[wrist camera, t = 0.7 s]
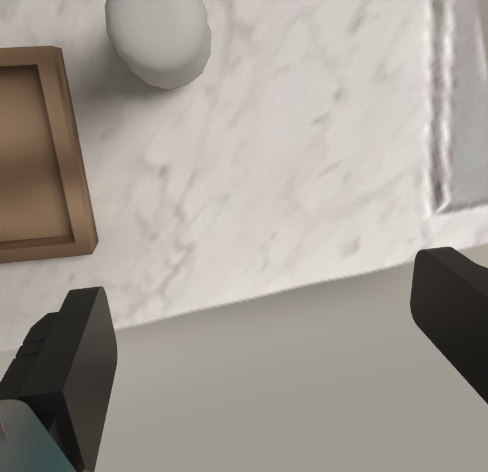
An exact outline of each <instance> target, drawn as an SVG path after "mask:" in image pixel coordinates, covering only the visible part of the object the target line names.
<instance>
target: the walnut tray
mask: <svg viewBox="0 0 488 472" xmlns="http://www.w3.org/2000/svg"><path fill="white" fill-rule="evenodd" d="M97 244H98V237H97V232H96V227H95V221H94V216H93V211H92V206H91V200H90V195H89V190H88V185H87V180H86V174H85V169H84V164H83V159H82V153H81V148H80V143H79V138H78V132H77V127H76V122H75V117H74V112H73V106H72V101H71V96H70V91H69V85H68V80H67V75H66V70H65V65H64V59H63V54H62V49H61V48H58V47H53V46H36V47H15V48H0V263H10V262H20V261H30V260H40V259H50V258H60V257H70V256H80V255H90V254H93V252H94V250H95V248H96V246H97Z"/></svg>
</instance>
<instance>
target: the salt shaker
mask: <svg viewBox="0 0 488 472" xmlns="http://www.w3.org/2000/svg"><path fill="white" fill-rule="evenodd" d="M105 14H106V26H107V33H108V35H109V37H110V39H111V41H112V43H113V45H114V47H115V49H116V51H117V53H118V55H119V56H120V57H121V58H123V59H124V60H125V61H126V63H127V64H128V66H129V68H130V70H131V71H132V72H133V73H134V74H136V75H137V76H138V77H139V78H140V79H142V80H143V81H144V82H145V83H147V84H149V85H153V86H156V87H160V88H163V89H167V90H168V89H172V88H177V87H181V86H186V85H187V84H189V83H190V82H191V81H193V80H194V79H195V78H196V77H198V76H199V75H200V74H202V72H203V70H204V68H205V65H206V63H207V61H208V58H209V56H210V54H211V30H210V28H209V26H208V23H207V11H206V9H205V6H204V4H203V2H202V0H107V1H106V4H105Z"/></svg>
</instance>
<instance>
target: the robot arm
mask: <svg viewBox="0 0 488 472" xmlns="http://www.w3.org/2000/svg"><path fill="white" fill-rule="evenodd" d="M410 308H411V313H412V317H413V319H414V321H415V323H416V324H417V326H418V327H419V328H420V329H421V330H422V331H423V332H424V334H425V335H426V336H427V337H428V338H429V339H430V340H431V341H432V343H433V344H434V345H435V346H436V347H437V348H438V349H439V350H440V351H441V352H442V354H443V355H444V356H445V357H446V358H447V359H448V360H449V361H450V362H451V364H452V365H453V366H454V367H455V368H456V369H457V370H458V371H459V373H460V374H461V375H462V376H463V377H464V378H465V379H466V380H467V382H468V383H469V384H470V385H471V386H472V387H473V388H474V389H475V390H476V392H477V393H478V394H479V395H480V396H481V397H482V398H483V399H484V400H485V402H487V404H488V268H486V267H483V266H480V265H478V264H476V263H474V262H473V261H471V260H470V259H468V258H467V257H465V256H464V255H462V254H461V253H459V252H458V251H456V250H455V249H454V248H452V247H440V248H432V249H423V250H420V251H418V253H417V255H416V257H415V264H414V272H413V281H412V290H411V299H410ZM116 365H117V343H116V337H115V333H114V328H113V324H112V319H111V314H110V310H109V305H108V300H107V296H106V292H105V290H104V288H103V287H102V286H101V287H92V288H84V289H75V290H70V291H69V292H68V294H67V296H66V298H65V300H64V302H63V304H62V306H61V308H60V310H59V312H54V313H48V314H46V315H45V316H44V317H43V318H42V319H41V320H39V321H38V322H37V323H36V324H35V325H33V326H32V327H31V329H30V331H29V332H28V334H27V336H26V338H25V339H24V341H23V345H22V346H21V347H20V348H19V350H18V352H17V354H16V359H13V361H12V363H11V365H10V366H9V368H8V370H7V371H6V373H5V375H4V377H3V379H2V381H1V382H0V472H94V470H95V465H96V461H97V456H98V451H99V446H100V442H101V437H102V432H103V428H104V423H105V418H106V413H107V408H108V404H109V399H110V394H111V389H112V385H113V380H114V375H115V370H116Z"/></svg>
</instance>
